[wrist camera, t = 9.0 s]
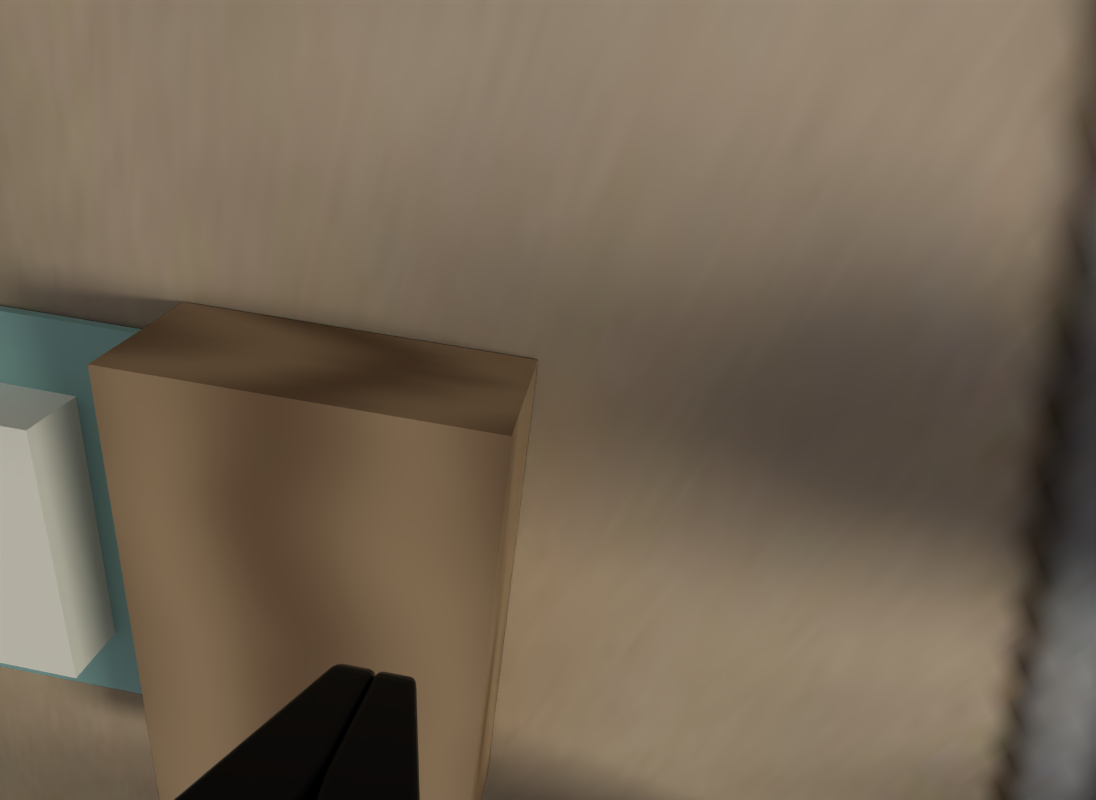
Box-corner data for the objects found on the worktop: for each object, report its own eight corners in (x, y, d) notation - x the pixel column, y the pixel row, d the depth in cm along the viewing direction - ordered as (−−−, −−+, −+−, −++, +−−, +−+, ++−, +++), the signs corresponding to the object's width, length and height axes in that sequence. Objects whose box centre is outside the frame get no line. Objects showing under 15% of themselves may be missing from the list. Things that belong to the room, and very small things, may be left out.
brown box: (538, 360, 21) (511, 435, 17) (487, 774, 28) (461, 887, 25) (183, 302, 21) (87, 364, 18) (226, 722, 29) (163, 825, 25)
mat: (205, 339, 22) (199, 343, 21) (237, 705, 28) (233, 711, 28) (-107, 287, 22) (-117, 291, 22) (-5, 657, 29) (-11, 663, 29)
